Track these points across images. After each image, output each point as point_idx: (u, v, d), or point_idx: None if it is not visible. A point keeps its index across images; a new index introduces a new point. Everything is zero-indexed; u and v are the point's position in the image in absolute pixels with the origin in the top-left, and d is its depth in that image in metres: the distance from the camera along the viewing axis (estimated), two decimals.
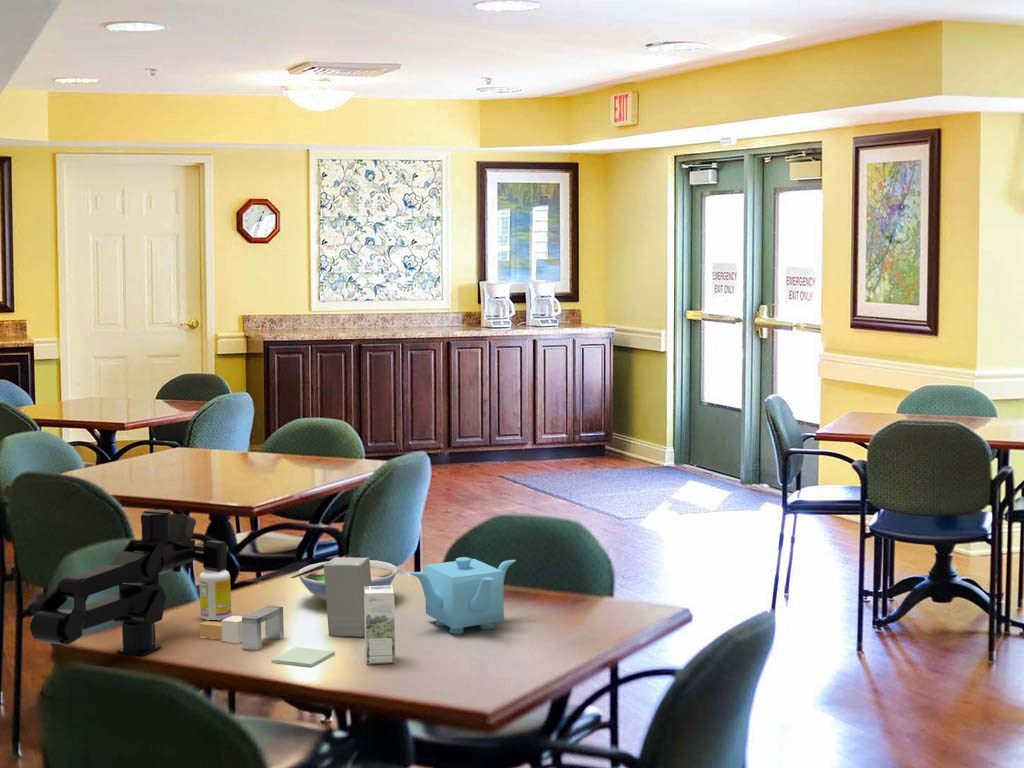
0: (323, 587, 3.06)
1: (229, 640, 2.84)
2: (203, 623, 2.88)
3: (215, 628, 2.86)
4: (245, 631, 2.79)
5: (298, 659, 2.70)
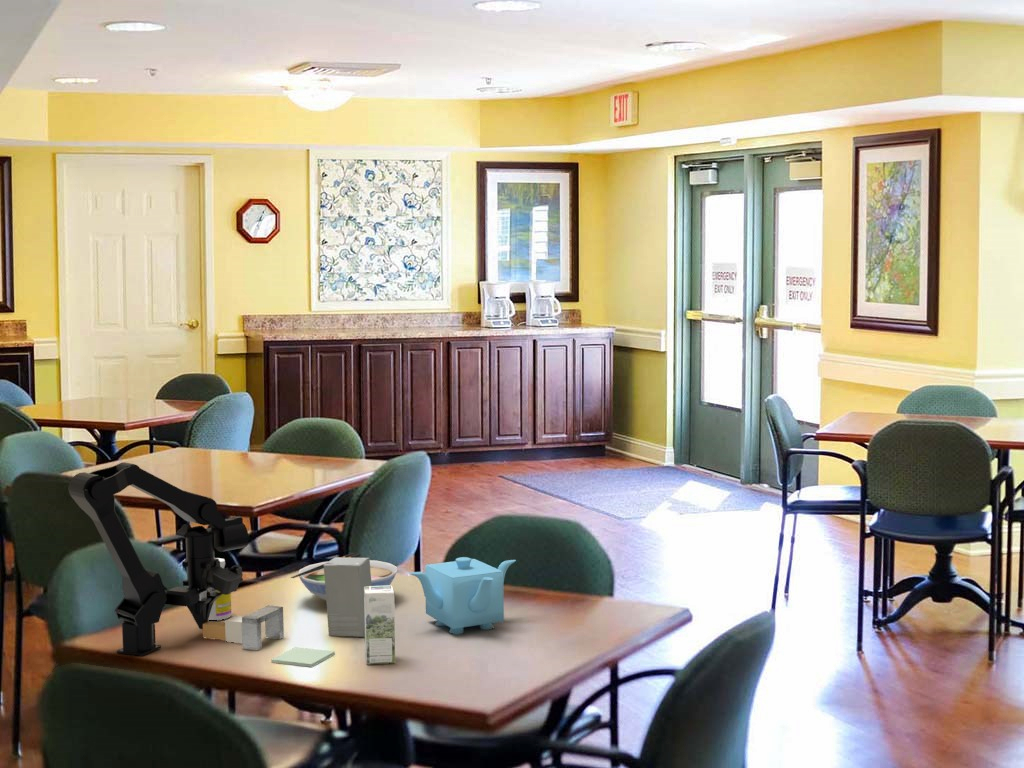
0: (323, 587, 3.06)
1: (233, 640, 2.84)
2: (206, 623, 2.88)
3: (218, 628, 2.86)
4: (245, 631, 2.79)
5: (298, 659, 2.70)
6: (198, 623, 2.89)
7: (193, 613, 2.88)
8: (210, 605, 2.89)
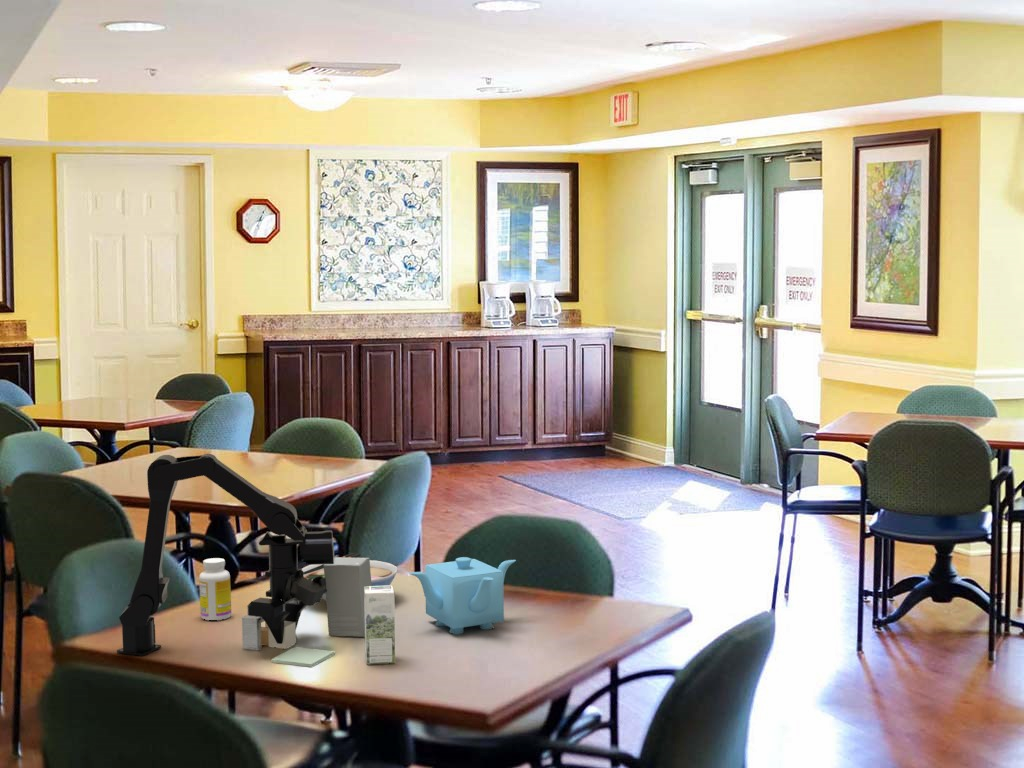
0: None
1: (276, 645, 2.80)
2: None
3: (261, 633, 2.82)
4: (245, 631, 2.79)
5: (298, 659, 2.70)
6: (276, 638, 2.79)
7: (271, 627, 2.78)
8: (298, 614, 2.83)
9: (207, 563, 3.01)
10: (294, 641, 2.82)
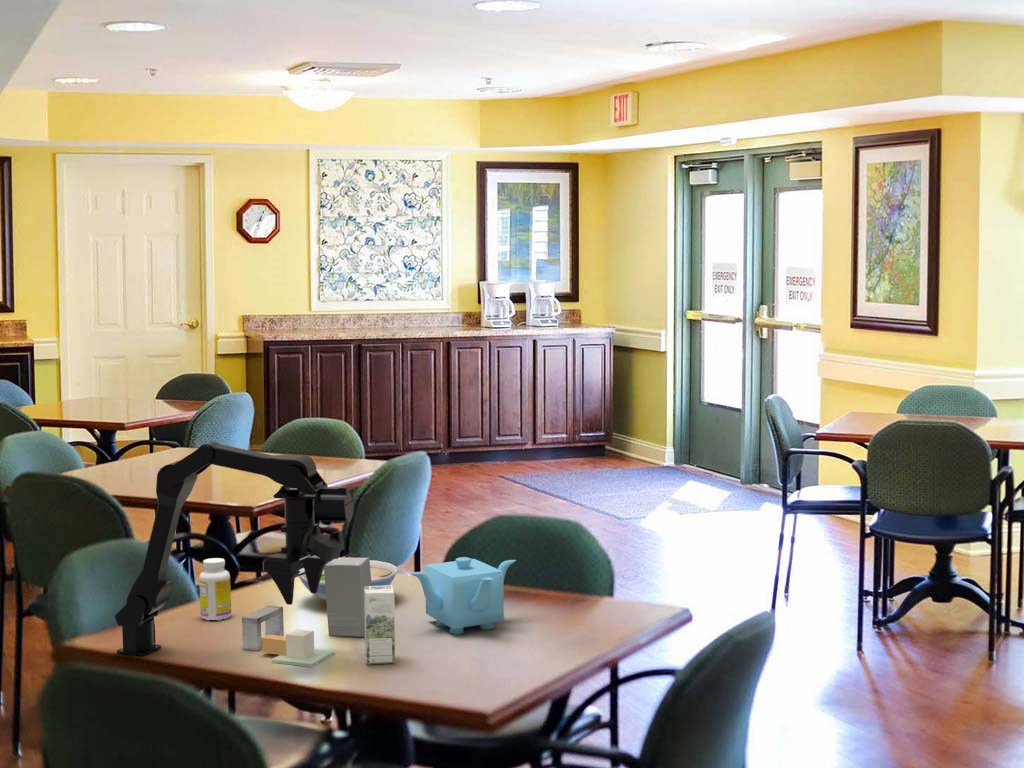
0: (323, 587, 3.06)
1: (294, 655, 2.71)
2: (266, 637, 2.75)
3: (278, 642, 2.73)
4: (245, 631, 2.79)
5: (298, 659, 2.70)
6: (286, 598, 2.67)
7: (280, 587, 2.66)
8: (321, 569, 2.75)
9: (207, 563, 3.01)
10: (312, 651, 2.73)
